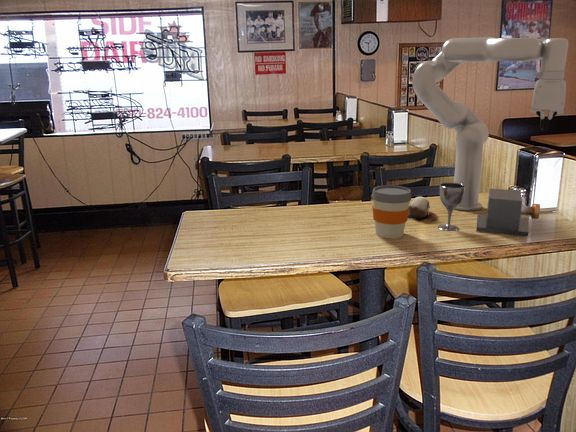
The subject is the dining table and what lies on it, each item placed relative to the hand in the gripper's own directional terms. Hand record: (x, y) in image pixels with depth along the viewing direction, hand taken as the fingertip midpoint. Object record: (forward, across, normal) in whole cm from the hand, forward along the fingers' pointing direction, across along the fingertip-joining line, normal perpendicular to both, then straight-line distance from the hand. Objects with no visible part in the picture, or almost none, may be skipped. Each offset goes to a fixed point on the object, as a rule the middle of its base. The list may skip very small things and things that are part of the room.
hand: (544, 130), depth 189 cm
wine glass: (+31, -28, -25) cm, 49 cm away
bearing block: (+31, -11, -18) cm, 38 cm away
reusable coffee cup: (+31, -46, -38) cm, 67 cm away
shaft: (+27, -8, -18) cm, 34 cm away
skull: (+32, -39, -15) cm, 52 cm away
